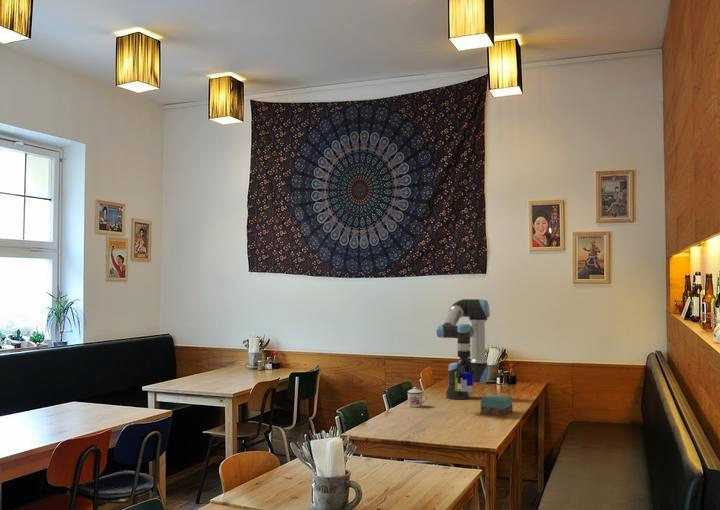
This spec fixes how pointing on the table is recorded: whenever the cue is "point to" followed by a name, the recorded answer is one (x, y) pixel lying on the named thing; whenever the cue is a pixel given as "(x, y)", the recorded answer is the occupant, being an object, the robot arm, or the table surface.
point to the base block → (497, 410)
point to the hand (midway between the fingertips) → (464, 387)
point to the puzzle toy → (465, 382)
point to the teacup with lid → (415, 397)
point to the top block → (496, 401)
